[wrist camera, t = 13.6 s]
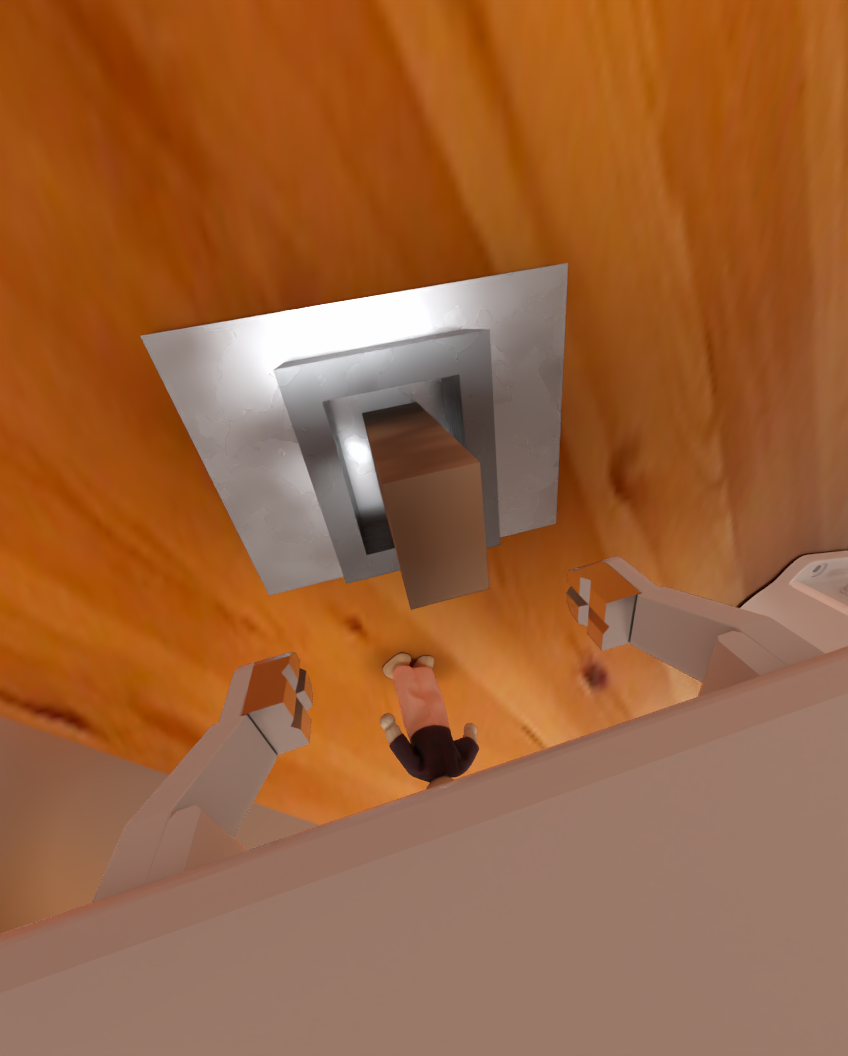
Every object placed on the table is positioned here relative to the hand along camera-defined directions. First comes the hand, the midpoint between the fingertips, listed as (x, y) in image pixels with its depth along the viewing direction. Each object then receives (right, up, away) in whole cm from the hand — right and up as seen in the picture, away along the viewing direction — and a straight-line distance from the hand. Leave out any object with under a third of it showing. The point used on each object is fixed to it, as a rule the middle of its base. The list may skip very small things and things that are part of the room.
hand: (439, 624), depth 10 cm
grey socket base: (-2, +8, +11) cm, 14 cm away
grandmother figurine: (-1, -9, +21) cm, 23 cm away
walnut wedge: (-2, +7, +10) cm, 12 cm away
